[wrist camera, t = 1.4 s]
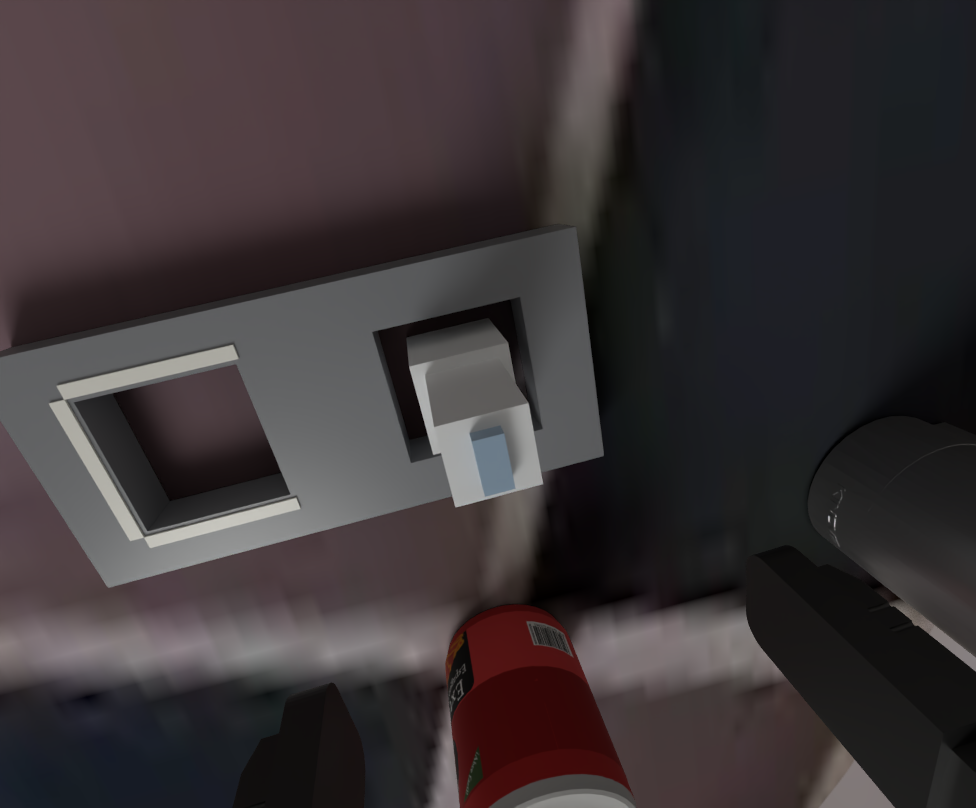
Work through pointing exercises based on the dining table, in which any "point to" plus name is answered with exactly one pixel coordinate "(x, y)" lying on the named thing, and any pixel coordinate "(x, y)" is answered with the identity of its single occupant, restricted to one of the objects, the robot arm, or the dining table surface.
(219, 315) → the panel
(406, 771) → the dining table surface
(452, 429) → the plug
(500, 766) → the canned food
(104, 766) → the dining table surface
